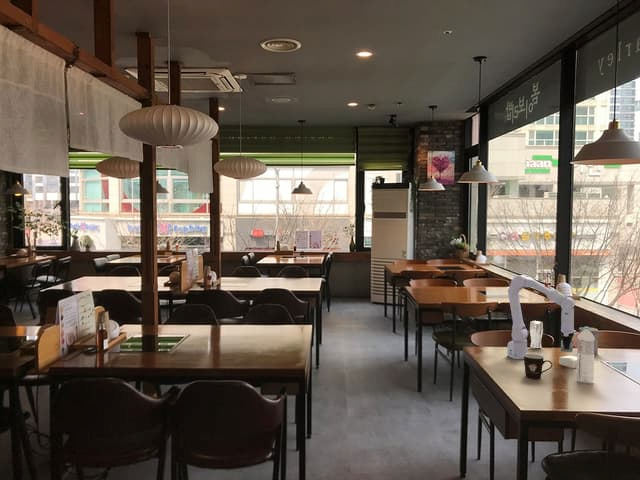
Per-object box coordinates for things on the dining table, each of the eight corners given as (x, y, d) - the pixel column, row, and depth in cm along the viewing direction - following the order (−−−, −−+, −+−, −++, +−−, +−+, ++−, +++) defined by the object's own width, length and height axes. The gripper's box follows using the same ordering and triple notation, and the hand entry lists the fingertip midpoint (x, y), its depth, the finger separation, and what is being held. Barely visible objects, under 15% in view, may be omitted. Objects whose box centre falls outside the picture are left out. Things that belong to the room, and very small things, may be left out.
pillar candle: (578, 350, 296) (578, 324, 296) (597, 352, 292) (598, 325, 291) (578, 354, 288) (578, 327, 287) (598, 356, 283) (598, 328, 283)
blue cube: (571, 352, 261) (571, 342, 261) (560, 351, 263) (561, 341, 263) (572, 350, 265) (572, 340, 265) (561, 349, 268) (562, 339, 267)
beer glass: (541, 346, 304) (542, 321, 304) (542, 349, 298) (543, 323, 297) (529, 345, 306) (529, 320, 306) (529, 348, 300) (530, 322, 299)
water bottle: (592, 385, 230) (594, 329, 229) (575, 382, 233) (577, 327, 233) (594, 381, 235) (595, 326, 235) (577, 379, 239) (578, 325, 238)
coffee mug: (519, 376, 241) (519, 355, 241) (529, 373, 247) (530, 353, 246) (543, 383, 232) (543, 360, 232) (553, 379, 237) (553, 358, 237)
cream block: (572, 368, 258) (572, 360, 258) (559, 364, 265) (559, 357, 265) (583, 367, 261) (584, 359, 261) (570, 363, 269) (570, 355, 268)
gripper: (575, 324, 255) (574, 351, 256) (577, 320, 268) (577, 346, 268) (559, 323, 259) (559, 350, 259) (562, 318, 272) (562, 344, 272)
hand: (567, 348), depth 264 cm, fingers closed on blue cube, 5 cm apart
